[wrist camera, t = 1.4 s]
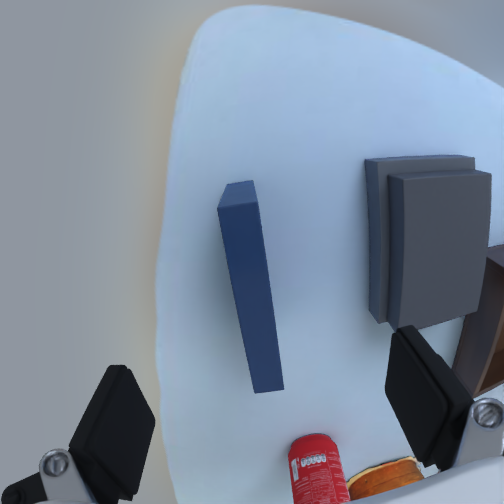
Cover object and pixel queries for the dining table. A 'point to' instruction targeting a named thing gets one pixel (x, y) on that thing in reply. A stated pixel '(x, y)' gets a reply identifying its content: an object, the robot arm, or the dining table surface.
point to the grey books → (426, 238)
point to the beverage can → (317, 471)
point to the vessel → (384, 478)
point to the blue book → (251, 283)
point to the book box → (484, 332)
